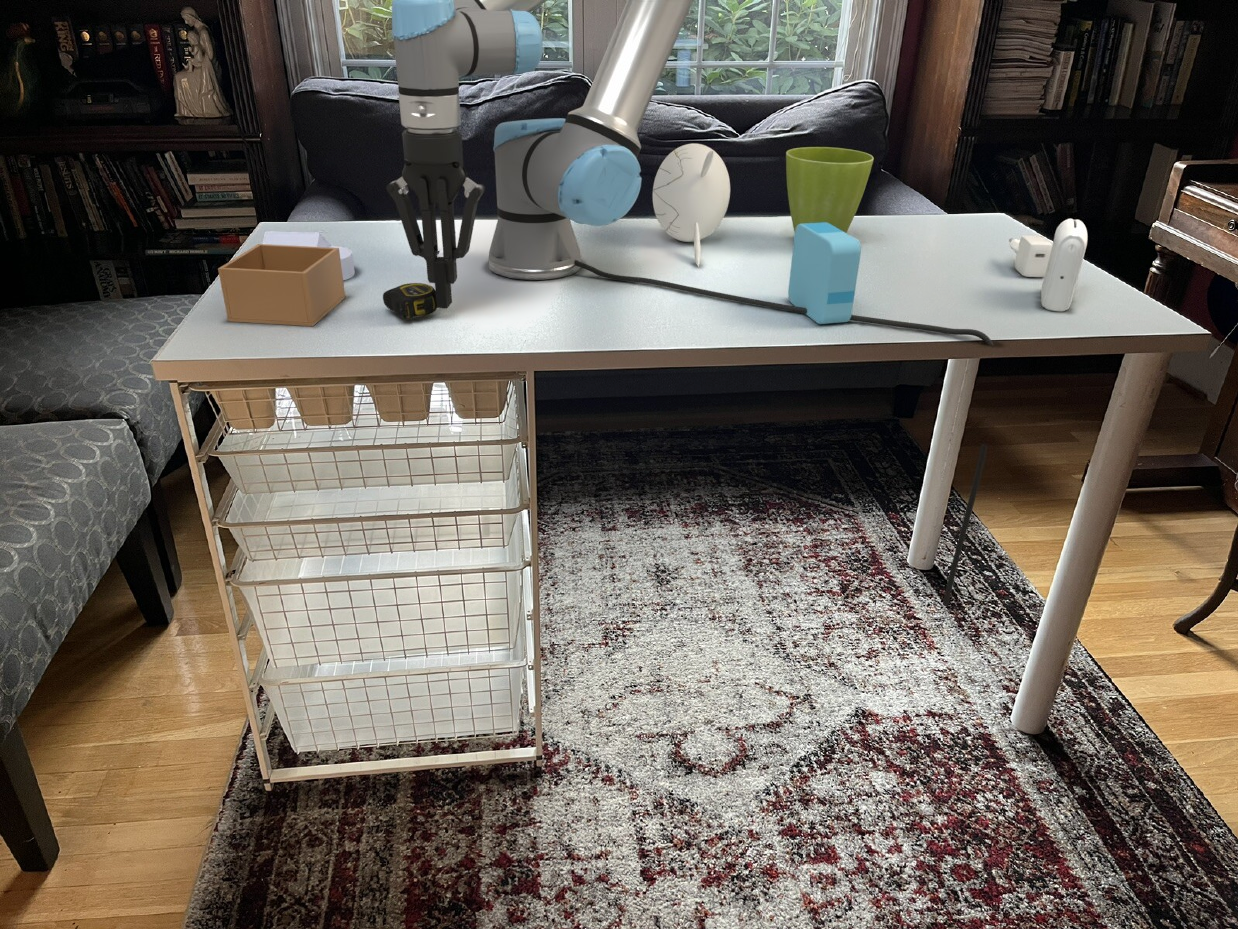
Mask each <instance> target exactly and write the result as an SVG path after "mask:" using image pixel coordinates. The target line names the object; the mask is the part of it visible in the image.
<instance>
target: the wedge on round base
mask: <svg viewBox="0 0 1238 929" xmlns="http://www.w3.org/2000/svg"><path fill="white" fill-rule="evenodd" d="M261 244H268V245H288V246H308V247H327V248H339V252H340V260H341V268H342V275H343V281H346V280H349V279H351V278H353V277H354V276H355V274H356V272H355V265H354V264H355V263H354V255H353V251H352V250H351V249H350V248H348V247H344V246H336V245H331V244H330V243H329V242H328V241H327V239H326V238H325V237H324V236H323V235H322V233H320V232H311V231H309V232H308V231H272V230H271V231H269V230H268V231H264V235H263V239H262V243H261Z"/></svg>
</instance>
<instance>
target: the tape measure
mask: <svg viewBox="0 0 1238 929" xmlns="http://www.w3.org/2000/svg"><path fill="white" fill-rule="evenodd" d="M382 300H383V304H384V306H385V307H386V308H387V309H389V310H390V311H392V312H394V313H395V314H397V315H398V316H399V317H401V318H402V319H403V320H407V321H408V320H412V319H413V318H423V317H427V316H430V315H431V314H434V313H435V312H436V311H437V309H438V308H437V305H436V292H435V287H434V286H432V285H430V284H427V283H421V282H410V283H404V284H401V285H398V286H396V287H393V288H391V289H388V290H386V291H384V292H383V294H382Z"/></svg>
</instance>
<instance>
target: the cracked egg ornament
mask: <svg viewBox="0 0 1238 929" xmlns="http://www.w3.org/2000/svg"><path fill="white" fill-rule="evenodd" d="M730 181H731V180H730V176H729V172H728V169H727V167H726V164H725V162H724V161H723V159H722V157H721V156H720V155H719V154H718V153H717V152H716V151H715V150H714V149H712V148H711V147H709V146H707V145H705V144H702V143H686V144H683V145H681V146H678V147H677V148H675V149H674V150H672V151H671V152H669V154H668V155H666V157H665V158H664V160H663V161H662V162H661V164H660V166H659V168H658V170H657V172H656V175H655V177H654V181H653V186H652V204H653V205H652V207H653V212H654V215H655V217H656V219H657V223H658V224H659V226H660V227H661V228H662V230H663V231H664V232H665V233H666V234H667V235H668V236H670V237H672V238H673V239H675V240H677V241H680V242H684V243H693V244H694V245H693V254H694V260H695V264H696V266H697V267H698V268H699V266H700V264H701V256H702V255H701V254H702V252H701V250H702V249H701V240H704V239H705V238H707V237H709V236H710V235H711V234H712V233H714V232H715V230H716V229H717V228H718V227H719V226H720V224H721V223H722V221H723V219H724V217H725V215H726V214H727V211H728V207H729V204H730V197H731V182H730Z"/></svg>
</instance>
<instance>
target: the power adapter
mask: <svg viewBox="0 0 1238 929" xmlns="http://www.w3.org/2000/svg"><path fill="white" fill-rule="evenodd" d="M1008 242H1009V245H1008V246H1009V248H1010V249H1011V251H1013V253H1015V254H1016V255H1015V259H1014V269H1015V270H1016V271H1017V272H1018V273H1019V274H1020V275H1022V276H1023V277H1027V278H1044V277H1045V273H1046V269H1047V265H1048V261H1049V257H1050V253H1051V249H1052V245H1053V242H1051V241H1049V240H1048V239H1047V238H1046V237H1045V236H1042V235H1035V234H1034V235H1033V234H1032V235H1031V234H1025V235H1022V236H1021V237H1020V239H1013V238H1012V237H1011V238H1009V239H1008Z"/></svg>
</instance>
